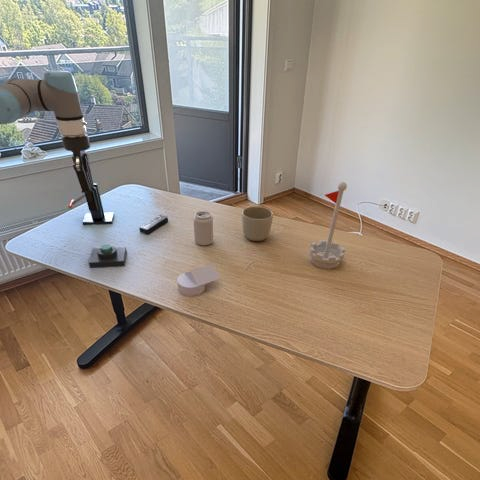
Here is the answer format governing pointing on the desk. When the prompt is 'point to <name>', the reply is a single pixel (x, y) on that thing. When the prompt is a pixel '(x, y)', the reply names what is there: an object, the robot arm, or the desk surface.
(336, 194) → the flag stand
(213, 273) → the wedge on round base
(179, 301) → the desk surface
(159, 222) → the multiport hub
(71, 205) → the lever
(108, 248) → the button
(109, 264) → the button box
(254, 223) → the planter
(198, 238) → the can
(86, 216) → the bracket
